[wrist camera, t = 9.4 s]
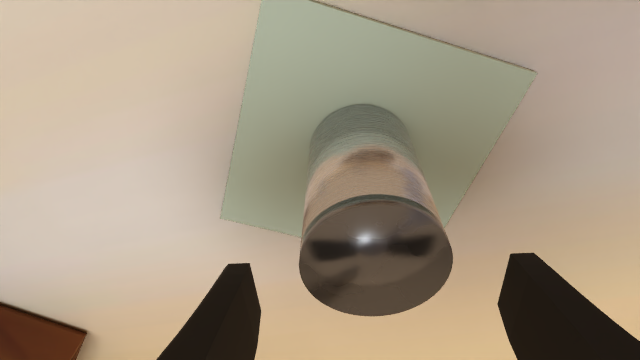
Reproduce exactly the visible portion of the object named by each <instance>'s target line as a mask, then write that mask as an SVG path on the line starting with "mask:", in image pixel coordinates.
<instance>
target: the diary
mask: <svg viewBox="0 0 640 360" xmlns="http://www.w3.org/2000/svg"><path fill="white" fill-rule="evenodd" d="M86 334H87V333H84V332H81V331H78V330H75V329H72V328H69V327H66V326H63V325H60V324H57V323H54V322H51V321H48V320H45V319H42V318H39V317H36V316H33V315H30V314H27V313H24V312H21V311H18V310H15V309H12V308H9V307H5V306H2V305H0V360H76V358H77V355H78V353H79V350H80V348H81V346H82V343H83V341H84V338H85V336H86Z"/></svg>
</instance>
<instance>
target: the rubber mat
mask: <svg viewBox="0 0 640 360" xmlns="http://www.w3.org/2000/svg"><path fill="white" fill-rule="evenodd" d="M537 74H538V73H536V72H535V71H533V70H530V69H527V68H524V67H521V66H518V65H515V64H511V63H508V62H505V61H502V60H499V59H496V58H493V57H490V56H486V55H483V54H480V53H477V52H474V51H471V50H468V49H464V48H461V47H458V46H455V45H452V44H449V43H446V42H443V41H439V40H436V39H433V38H430V37H427V36H424V35H421V34H418V33H414V32H411V31H408V30H405V29H402V28H399V27H396V26H392V25H389V24H386V23H383V22H380V21H377V20H374V19H371V18H367V17H364V16H361V15H358V14H355V13H352V12H349V11H345V10H342V9H339V8H336V7H333V6H330V5H327V4H324V3H320V2H317V1H314V0H262V1H261V6H260V11H259V17H258V22H257V27H256V32H255V38H254V43H253V48H252V53H251V59H250V64H249V69H248V75H247V80H246V85H245V90H244V96H243V101H242V106H241V111H240V117H239V122H238V127H237V132H236V138H235V143H234V148H233V153H232V159H231V164H230V169H229V175H228V180H227V185H226V190H225V196H224V201H223V206H222V211H221V217H220V219H225V220H229V221H233V222H237V223H242V224H246V225H250V226H254V227H259V228H263V229H267V230H272V231H276V232H280V233H284V234H289V235H293V236H297V237H301V238H302V227H303V216H304V205H305V194H306V183H307V172H308V161H309V150H310V142H311V138H312V135H313V133H314V131H315V129H316V128H317V126H318V125H319V124H320V122H321V121H322V120H323V119H324V118H325V117H327V116H328V115H329V114H331V113H332V112H334V111H336V110H338V109H340V108H343V107H346V106H349V105H355V104H370V105H375V106H379V107H382V108H385V109H386V110H388V111H390V112H392V113H393V114H395V115H396V116H397V117H398V118H399V119H400V120H401V121H402V122H403V124H404V125H405V127H406V129H407V131H408V133H409V136H410V139H411V141H412V144H413V147H414V149H415V152H416V155H417V157H418V160H419V163H420V165H421V168H422V171H423V173H424V176H425V179H426V182H427V184H428V187H429V190H430V192H431V195H432V198H433V200H434V203H435V206H436V208H437V211H438V214H439V216H440V219H441V222H442V224H443V227H444V228H445V226H446V224H447V223H448V221H449V219H450V218H451V216H452V214H453V213H454V211H455V209H456V208H457V206H458V204H459V203H460V201H461V199H462V198H463V196H464V195H465V193H466V191H467V190H468V188H469V186H470V185H471V183H472V181H473V180H474V178H475V176H476V175H477V173H478V171H479V170H480V168H481V166H482V165H483V163H484V161H485V160H486V158H487V156H488V155H489V153H490V151H491V150H492V148H493V146H494V145H495V143H496V141H497V140H498V138H499V137H500V135H501V133H502V132H503V130H504V128H505V127H506V125H507V123H508V122H509V120H510V118H511V117H512V115H513V113H514V112H515V110H516V108H517V107H518V105H519V103H520V102H521V100H522V98H523V97H524V95H525V93H526V92H527V90H528V88H529V87H530V85H531V83H532V82H533V80H534V78H535V77H536V75H537Z"/></svg>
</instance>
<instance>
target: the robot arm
mask: <svg viewBox="0 0 640 360" xmlns="http://www.w3.org/2000/svg"><path fill="white" fill-rule="evenodd" d="M498 307H499V310H500V314H501V317H502V320H503V324H504V327H505V330H506V333H507V336H508V339H509V341H510V344H511V346H512V348H513V351H514V353H515V355H516V357H517V360H640V341H638V340H637V339H636V338H634V337H633V336H632V335H631V334H629V333H628V332H627V331H625V330H624V329H623V328H622V327H620V326H619V325H618V324H617V323H615V322H614V321H613V320H612V319H610V318H609V317H608V316H607V315H606V314H604V313H603V312H602V311H601V310H600V309H598V308H597V307H596V306H595V305H594V304H592V303H591V302H590V301H589V300H588V299H586V298H585V297H584V296H583V295H582V294H581V293H579V292H578V291H577V290H576V289H575V288H574V287H572V286H571V285H570V284H569V283H568V282H567V281H566V280H564V279H563V278H562V277H561V276H560V275H559V274H558V273H556V272H555V271H554V270H553V269H552V268H551V267H550V266H548V265H547V264H546V263H545V262H544V261H543V260H542V259H540V258H539V257H538V256H537V255H536V254H534V253H516V254H510V258H509V262H508V265H507V269H506V273H505V277H504V281H503V285H502V289H501V293H500V297H499V301H498ZM260 317H261V308H260V304H259V300H258V296H257V292H256V288H255V283H254V279H253V275H252V271H251V267H250V263H242V264H228V265H227V266H226V267H225V269H224V270H223V272H222V273H221V275H220V276H219V278H218V279H217V280H216V282H215V283H214V285H213V286H212V288H211V289H210V291H209V292H208V294H207V295H206V296H205V298H204V299H203V301H202V302H201V303H200V305H199V306H198V308H197V309H196V310H195V312H194V313H193V314H192V316H191V317H190V318H189V320H188V321H187V322H186V324H185V325H184V326H183V328H182V329H181V330H180V331H179V333H178V334H177V335H176V336H175V338H174V339H173V340H172V341H171V342H170V344H169V345H168V346H167V347H166V349H165V350H164V351H163V352H162V353H161V355H160V356H159V357H158V358H157V360H254V358H255V354H256V349H257V343H258V335H259V326H260Z"/></svg>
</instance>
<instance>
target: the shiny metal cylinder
mask: <svg viewBox="0 0 640 360" xmlns="http://www.w3.org/2000/svg"><path fill="white" fill-rule="evenodd" d="M452 264H453V254H452V249H451V246H450V243H449V241H448V238H447V235H446V232H445V230H444V227H443V224H442V222H441V219H440V216H439V214H438V211H437V208H436V206H435V203H434V200H433V198H432V195H431V192H430V190H429V187H428V184H427V182H426V179H425V176H424V173H423V171H422V168H421V165H420V163H419V160H418V157H417V155H416V152H415V149H414V147H413V144H412V141H411V139H410V136H409V133H408V131H407V129H406V127H405V125H404V124H403V122H402V121H401V120H400V119H399V118H398V117H397V116H396V115H395V114H393V113H392V112H390V111H388V110H386V109H385V108H382V107H379V106H375V105H370V104H355V105H349V106H346V107H343V108H340V109H338V110H336V111H334V112H332V113H331V114H329V115H328V116H327V117H325V118H324V119H323V120H322V121H321V122H320V124H319V125H318V126H317V128H316V129H315V131H314V133H313V135H312V138H311V142H310V150H309V161H308V172H307V183H306V194H305V205H304V216H303V227H302V238H301V249H300V260H299V270H300V275H301V278H302V281H303V283H304V285H305V286H306V288H307V289H308V291H309V292H310V293H311V294H312V295H313V296H314V297H315V298H316V299H318V300H319V301H320V302H322V303H323V304H325V305H327V306H329V307H331V308H333V309H335V310H338V311H341V312H344V313H348V314H353V315H359V316H384V315H391V314H396V313H400V312H403V311H406V310H409V309H412V308H414V307H416V306H418V305H420V304H422V303H423V302H425V301H427V300H428V299H430V298H431V297H432V296H434V295H435V294H436V293H437V292H438V291H439V290H440V289H441V287H442V286H443V285H444V284H445V282H446V280H447V279H448V277H449V274H450V272H451V268H452Z"/></svg>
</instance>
